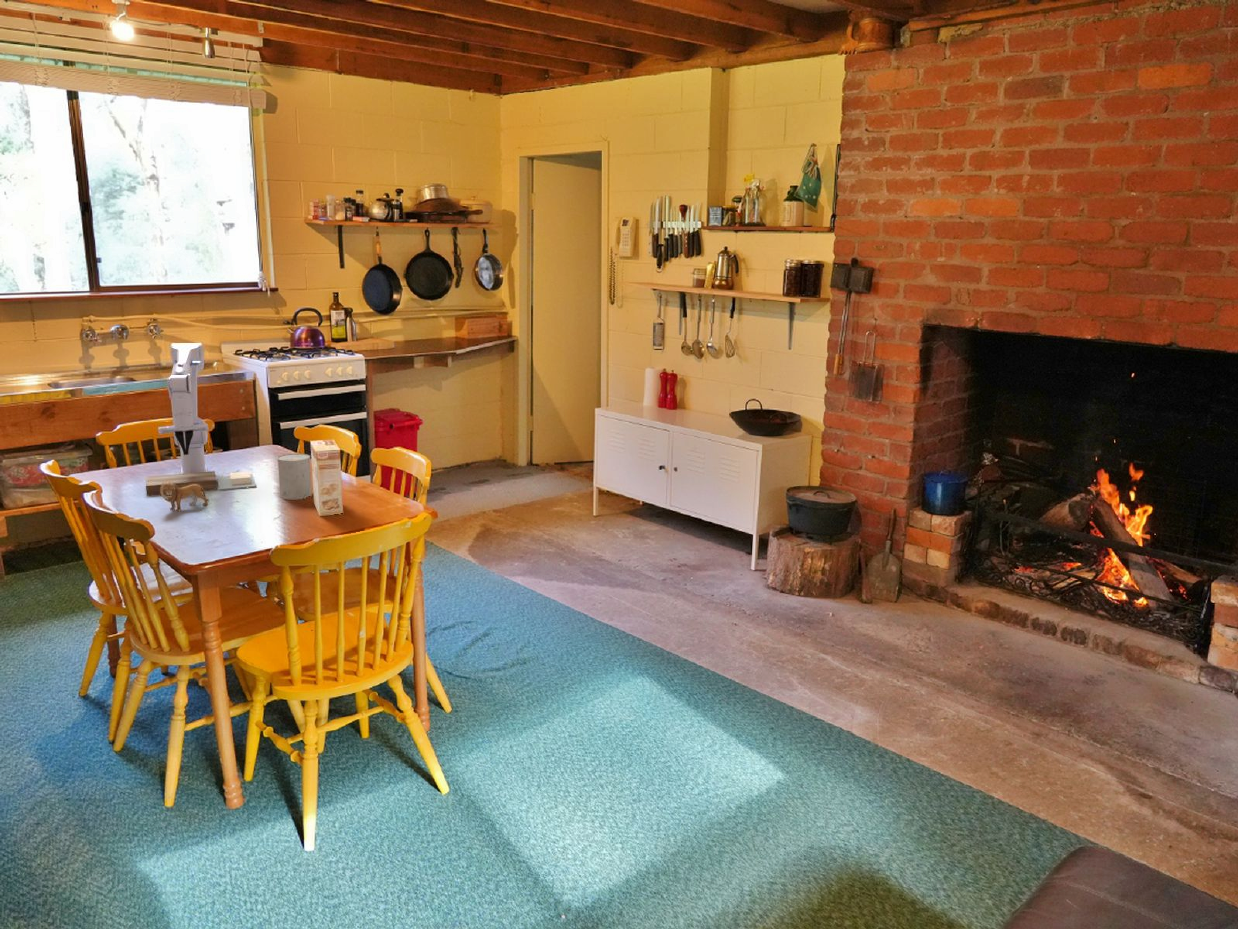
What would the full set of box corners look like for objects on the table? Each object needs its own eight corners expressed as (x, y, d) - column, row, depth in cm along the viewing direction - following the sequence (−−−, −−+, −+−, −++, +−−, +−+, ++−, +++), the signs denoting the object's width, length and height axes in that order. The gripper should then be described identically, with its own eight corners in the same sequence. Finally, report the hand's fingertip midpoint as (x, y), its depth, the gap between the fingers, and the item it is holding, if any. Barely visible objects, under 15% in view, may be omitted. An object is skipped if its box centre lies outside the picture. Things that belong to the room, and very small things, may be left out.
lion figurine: (168, 515, 268) (165, 485, 266) (157, 512, 271) (154, 482, 269) (214, 503, 280) (211, 474, 278) (203, 500, 283) (200, 472, 281)
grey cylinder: (275, 494, 291) (273, 455, 288) (306, 489, 297) (303, 452, 294) (285, 501, 284) (283, 462, 281) (316, 496, 290) (314, 458, 287)
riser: (147, 485, 297) (146, 476, 297) (215, 479, 306) (214, 471, 305) (146, 495, 287) (145, 486, 286) (217, 489, 295) (216, 480, 295)
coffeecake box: (344, 514, 273) (340, 449, 268) (318, 516, 270) (314, 451, 265) (337, 500, 286) (334, 438, 281) (313, 503, 283) (309, 440, 278)
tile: (248, 471, 308) (249, 477, 308) (229, 472, 305) (229, 478, 306) (250, 477, 301) (251, 483, 301) (230, 478, 298) (231, 484, 299)
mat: (216, 478, 308) (216, 476, 308) (252, 475, 312) (252, 473, 312) (219, 490, 294) (219, 489, 294) (256, 487, 298) (256, 485, 298)
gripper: (156, 416, 290) (161, 458, 294) (207, 413, 296) (211, 454, 300) (156, 412, 296) (161, 453, 300) (206, 409, 303) (210, 450, 306)
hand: (186, 454), depth 300 cm, fingers closed
